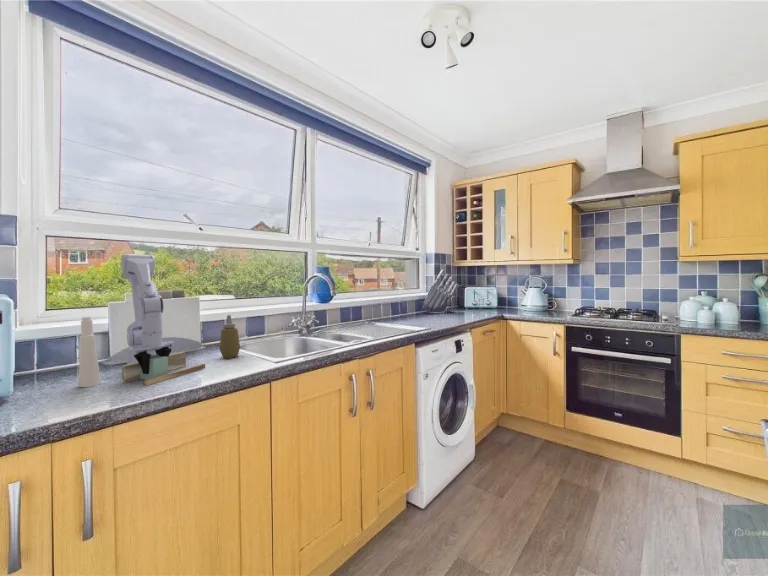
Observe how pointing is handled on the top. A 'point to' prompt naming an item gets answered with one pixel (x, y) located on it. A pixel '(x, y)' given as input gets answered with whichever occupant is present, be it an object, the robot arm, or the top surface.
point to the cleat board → (174, 362)
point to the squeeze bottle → (229, 339)
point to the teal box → (155, 367)
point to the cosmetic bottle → (88, 356)
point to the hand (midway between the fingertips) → (153, 371)
